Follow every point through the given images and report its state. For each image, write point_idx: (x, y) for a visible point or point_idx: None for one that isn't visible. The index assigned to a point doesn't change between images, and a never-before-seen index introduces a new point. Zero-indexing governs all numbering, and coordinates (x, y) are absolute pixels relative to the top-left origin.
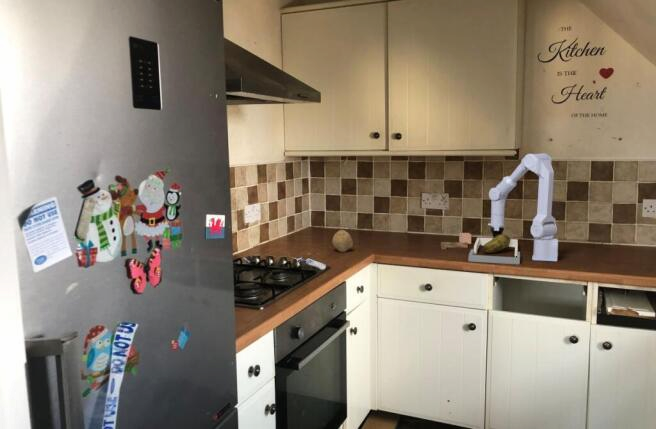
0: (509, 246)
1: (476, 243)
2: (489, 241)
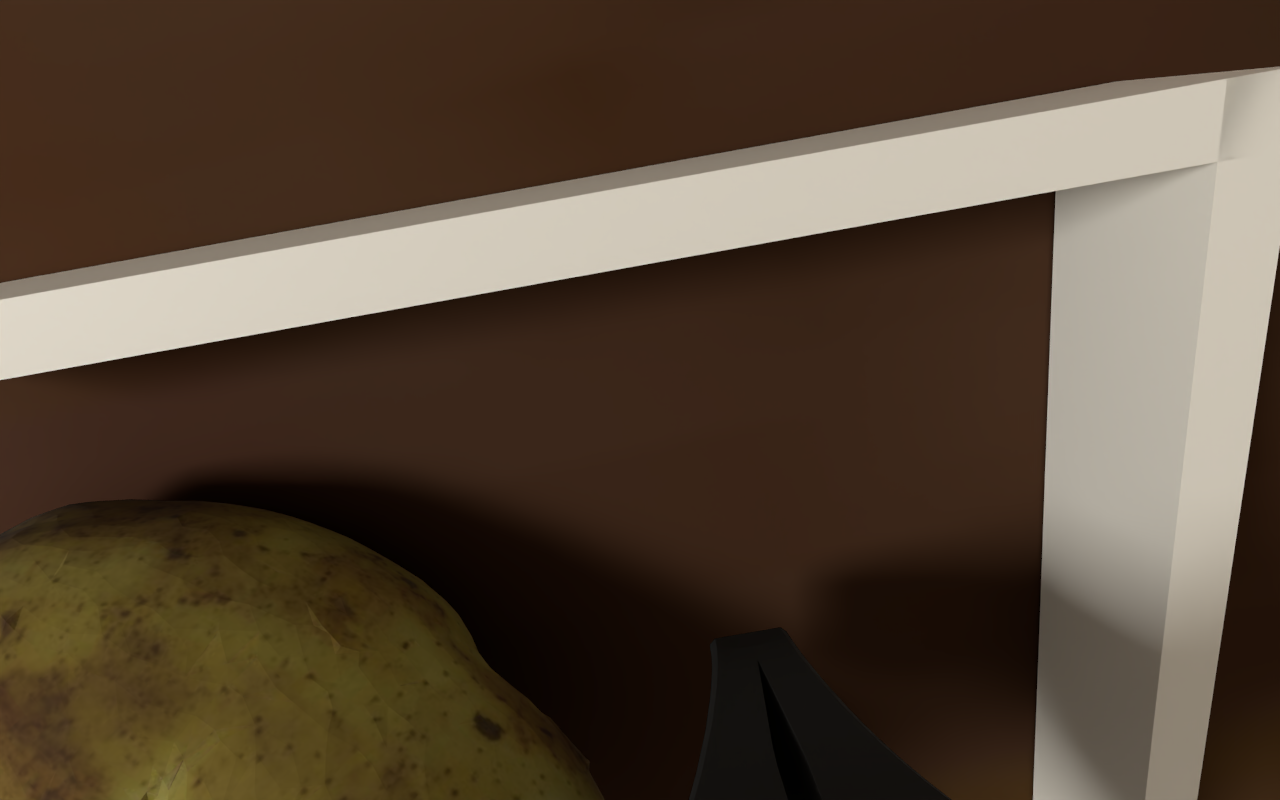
0: (1036, 740)
1: (154, 320)
2: (58, 788)
